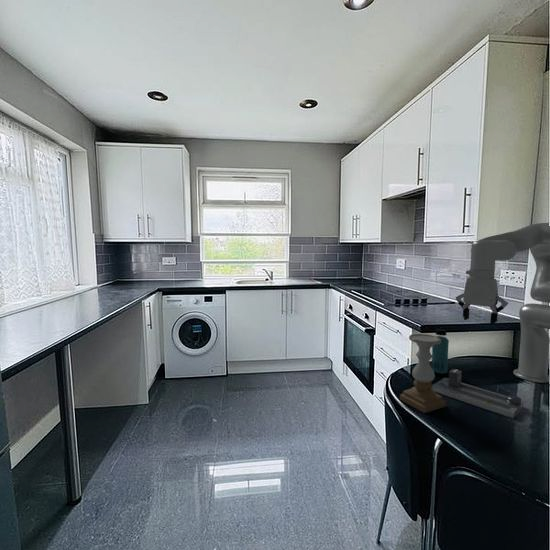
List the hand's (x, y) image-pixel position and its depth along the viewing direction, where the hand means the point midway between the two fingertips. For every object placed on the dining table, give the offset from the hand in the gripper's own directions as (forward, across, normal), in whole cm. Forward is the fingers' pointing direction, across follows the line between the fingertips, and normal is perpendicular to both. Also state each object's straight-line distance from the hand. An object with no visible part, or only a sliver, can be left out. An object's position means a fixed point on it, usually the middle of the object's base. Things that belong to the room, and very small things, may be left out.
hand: (479, 321), depth 116 cm
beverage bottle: (+28, -17, +9) cm, 34 cm away
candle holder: (+28, -10, -22) cm, 37 cm away
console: (+28, +1, -4) cm, 28 cm away
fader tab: (+26, -6, -4) cm, 27 cm away
